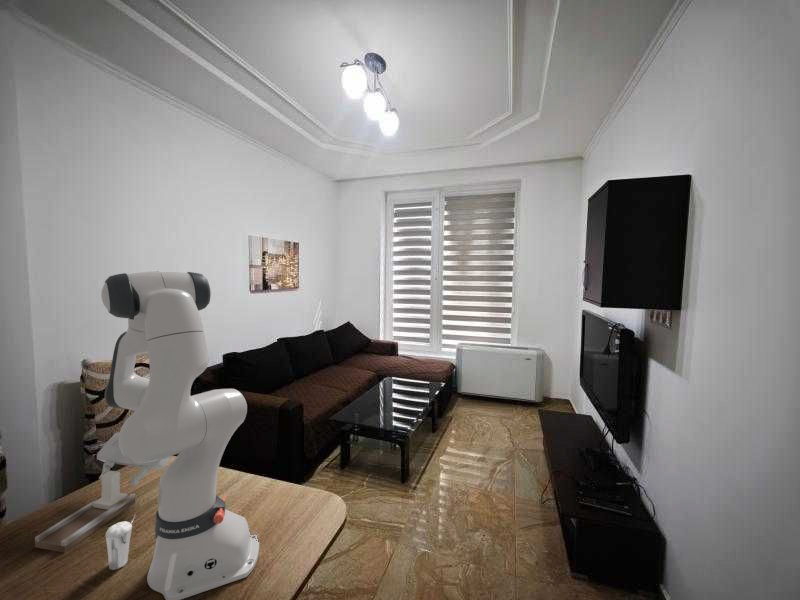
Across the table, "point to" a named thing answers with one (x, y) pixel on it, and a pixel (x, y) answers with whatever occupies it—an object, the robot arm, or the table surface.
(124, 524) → the milkshake
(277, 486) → the table surface
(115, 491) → the fader tab
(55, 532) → the fader track
